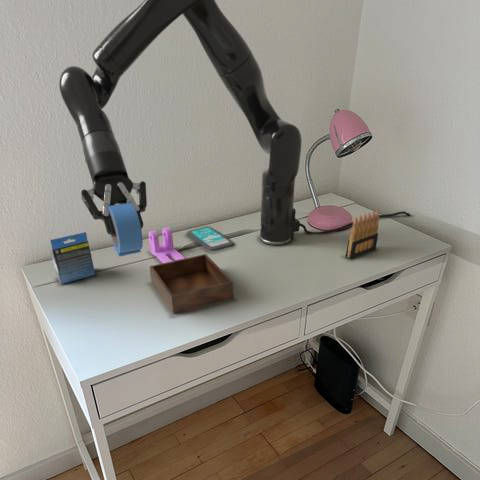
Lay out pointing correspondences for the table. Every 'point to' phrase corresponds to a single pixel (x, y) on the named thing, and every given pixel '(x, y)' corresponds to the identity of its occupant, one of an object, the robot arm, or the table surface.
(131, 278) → the table surface
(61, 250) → the blue retail box
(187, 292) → the wooden box
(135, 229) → the tape roll
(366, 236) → the ammunition clip
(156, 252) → the bracket
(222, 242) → the smartphone
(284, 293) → the table surface
